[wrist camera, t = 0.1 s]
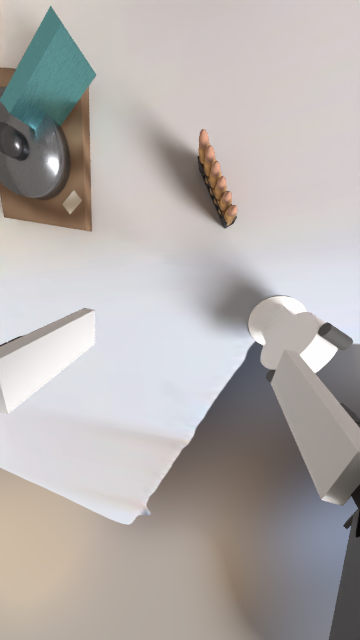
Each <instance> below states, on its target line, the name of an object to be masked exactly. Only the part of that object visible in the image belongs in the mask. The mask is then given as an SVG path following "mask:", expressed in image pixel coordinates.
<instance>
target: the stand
mask: <svg viewBox="0 0 360 640" xmlns="http://www.w3.org/2000/svg"><path fill="white" fill-rule="evenodd" d="M15 71H16V69H13V68H0V87H4V86H7V85H8V84H9V82H10V80H11V78H12V76H13V74H14V73H15ZM61 128H62V130H63V132H64V134H65V136H66V139H67V142H68V146H69V151H70V159H71V166H70V174H69V178H68V181H67V183H66V185H65V187H64V189H63V190H62V191H61V193H60V194H59V195H57V196H56V197H54V198H52V199H49V200H36V199H33V198H29V197H26V196H22V195H19V194H16V193H14V192H12V191H11V190H9V189H8V188H6V187H5V186H4V185H3V184H2V183H1V182H0V196H1V201H2V207H3V213H4V217H6V218H12V219H18V220H24V221H30V222H36V223H43V224H49V225H55V226H61V227H67V228H73V229H79V230H85V231H92V222H91V176H90V131H89V86H88V88H87V89H86V91H85V92H84V93H83V95H82V96H81V98H80V99H79V101H78V102H77V103H76V105H75V106H74V108H73V109H72V111H71V112H70V114H69V115H68V116H67V118H66V119H65V121H64V122H63V124H62V125H61Z"/></svg>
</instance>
